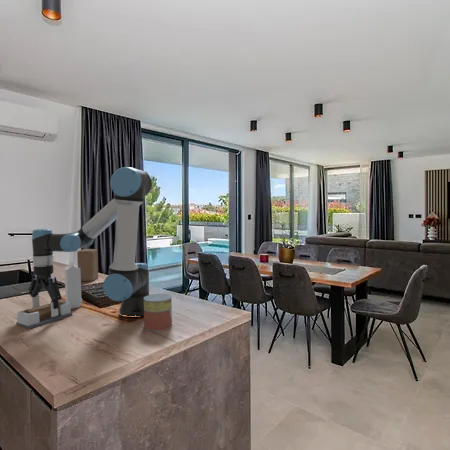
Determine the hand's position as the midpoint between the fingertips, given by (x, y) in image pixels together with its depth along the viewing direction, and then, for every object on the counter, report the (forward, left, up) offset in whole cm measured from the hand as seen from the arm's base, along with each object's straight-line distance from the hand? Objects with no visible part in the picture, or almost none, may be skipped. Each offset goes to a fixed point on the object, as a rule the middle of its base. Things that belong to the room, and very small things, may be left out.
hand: (45, 313), depth 144 cm
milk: (+6, -18, -3) cm, 19 cm away
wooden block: (+50, -60, -3) cm, 78 cm away
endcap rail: (0, 0, -3) cm, 3 cm away
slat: (0, 0, -2) cm, 2 cm away
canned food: (-48, -18, -3) cm, 51 cm away
